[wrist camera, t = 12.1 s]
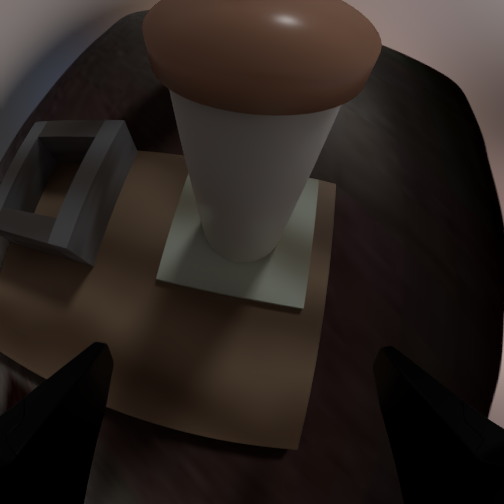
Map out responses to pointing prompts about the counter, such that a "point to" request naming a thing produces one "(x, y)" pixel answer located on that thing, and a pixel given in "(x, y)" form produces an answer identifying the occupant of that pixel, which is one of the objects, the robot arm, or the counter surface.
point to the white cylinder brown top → (255, 103)
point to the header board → (159, 287)
